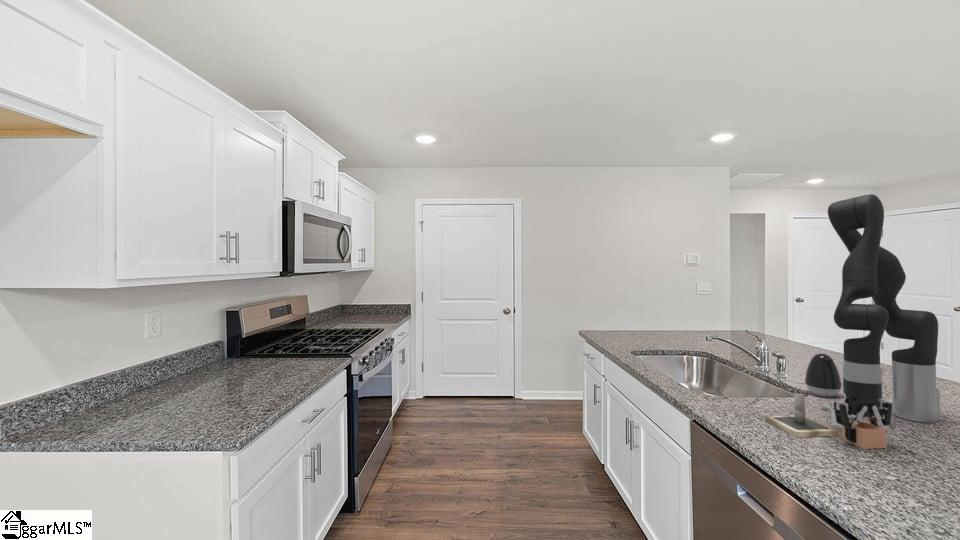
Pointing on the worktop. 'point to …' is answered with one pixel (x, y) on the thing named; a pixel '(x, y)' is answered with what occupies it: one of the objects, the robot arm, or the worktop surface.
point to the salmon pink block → (868, 435)
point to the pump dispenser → (823, 376)
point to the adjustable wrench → (832, 416)
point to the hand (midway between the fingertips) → (863, 440)
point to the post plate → (802, 432)
